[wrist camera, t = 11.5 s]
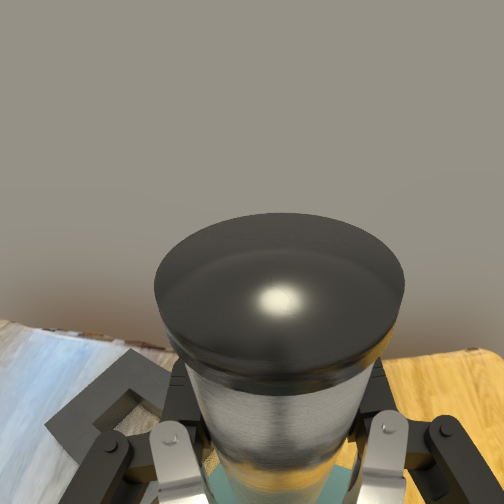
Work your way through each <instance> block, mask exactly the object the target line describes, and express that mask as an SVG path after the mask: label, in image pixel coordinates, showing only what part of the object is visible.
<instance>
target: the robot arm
mask: <svg viewBox="0 0 504 504" xmlns="http://www.w3.org/2000/svg"><path fill="white" fill-rule="evenodd" d="M347 439H348V443H350V442H356V444H357V451H356V454H355V458H354V463H353V467H352V471H351V475H350V478H349V482H348V486H347V490H346V493H345V496H344V498H343V500H342V503H341V504H403V502H404V496H405V491H406V479H405V478H404V477H403V470H404V469H407V470H408V472H409V473H410V475H411V477H412V479H413V481H414V483H415V485H416V486H417V488H418V490H419V492H420V494H421V496H422V498H423V499H424V501H425V503H426V504H504V490H503V489H502V487H501V485H500V484H499V482H498V481H497V479H496V477H495V476H494V474H493V472H492V471H491V469H490V468H489V466H488V465H487V463H486V461H485V460H484V458H483V457H482V455H481V454H480V452H479V451H478V449H477V447H476V446H475V444H474V443H473V441H472V440H471V438H470V437H469V435H468V434H467V432H466V431H465V429H464V428H463V427H462V425H461V424H460V422H459V421H458V420H457V419H456V418H454V417H453V416H450V415H441V416H438V417H436V418H435V419H434V420H433V421H432V422H423V421H413V420H409V419H407V418H405V416H404V415H403V414H401V413H400V412H399V411H398V410H397V408H396V405H395V402H394V398H393V395H392V392H391V389H390V386H389V383H388V380H387V377H386V374H385V371H384V369H383V365H382V362H381V359H380V357H378V358H377V359H376V361H375V362H374V365H373V368H372V371H371V374H370V377H369V380H368V383H367V386H366V389H365V391H364V394H363V397H362V400H361V402H360V405H359V408H358V410H357V413H356V415H355V418H354V420H353V423H352V425H351V428H350V430H349V433H348V435H347ZM211 444H212V439H211V437H210V434H209V432H208V429H207V426H206V424H205V421H204V418H203V415H202V413H201V410H200V407H199V404H198V401H197V398H196V395H195V393H194V390H193V387H192V384H191V381H190V378H189V375H188V371H187V368H186V365H185V362H184V361H183V360H182V359H181V358H180V357H179V358H178V360H177V361H176V362H175V364H174V365H173V369H172V373H171V378H170V382H169V387H168V390H167V395H166V399H165V404H164V408H163V413H162V417H161V420H160V422H159V424H157V425H156V426H155V427H154V428H153V429H152V430H151V431H150V432H147V433H144V434H139V435H133V436H127V437H125V435H124V434H122V433H121V432H119V431H115V430H109V431H105V432H103V433H101V434H100V435H99V436H98V437H97V438H96V439H95V441H94V443H93V444H92V446H91V448H90V449H89V451H88V453H87V455H86V456H85V458H84V460H83V461H82V463H81V465H80V467H79V468H78V470H77V472H76V473H75V475H74V477H73V479H72V480H71V482H70V484H69V486H68V487H67V489H66V491H65V493H64V494H63V496H62V498H61V500H60V502H59V503H58V504H140V502H141V500H142V498H143V496H144V494H145V492H146V490H147V488H148V486H149V483H150V482H151V481H157V480H158V482H159V488H160V489H159V491H158V500H159V504H217V502H216V499H215V496H214V494H213V491H212V488H211V485H210V482H209V479H208V476H207V473H206V470H205V467H204V464H203V461H202V459H203V450H204V449H211Z"/></svg>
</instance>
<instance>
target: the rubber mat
mask: <svg viewBox="0 0 504 504" xmlns="http://www.w3.org/2000/svg"><path fill="white" fill-rule="evenodd" d="M351 471H352V470H350V469H347V468H344V467H341V466H338V465H334V467H333V469H332V471H331V473H330V475H329V477H328V479H327V481H326V483H325V485H324V487H323V489H322V491H321V493H320V495H319V497H318V499H317V501H316V502H315V504H341V503H342V500H343V498H344V496H345V493H346V490H347V486H348V482H349V478H350V475H351ZM208 479H209V482H210V485H211V488H212V491H213V494H214V496H215V499H216V502H217V504H239V503H238V501H237V500H236V497H235V495H234V493H233V491H232V488H231V486H230V484H229V481H228V479H227V477H226V474H225V472H224V469H223V467H222V465H221V462H220V464H219V465H218V466H217V467H216V469H215V470H214V471H213V472H212V474H211V475H210V476H209V477H208Z"/></svg>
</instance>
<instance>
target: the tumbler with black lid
mask: <svg viewBox="0 0 504 504" xmlns="http://www.w3.org/2000/svg"><path fill="white" fill-rule="evenodd" d="M404 286H405V280H404V274H403V270H402V268H401V265H400V263H399V261H398V260H397V258H396V256H395V255H394V254H393V252H392V251H391V250H390V249H389V248H388V247H387V246H386V245H385V244H384V243H383V242H381V241H380V240H379V239H377V238H376V237H374V236H373V235H371V234H370V233H368V232H366V231H364V230H362V229H360V228H358V227H355V226H353V225H350V224H348V223H345V222H342V221H339V220H335V219H331V218H327V217H322V216H316V215H309V214H298V213H267V214H257V215H250V216H243V217H238V218H234V219H230V220H226V221H222V222H219V223H217V224H214V225H211V226H208V227H206V228H204V229H201V230H199V231H197V232H196V233H194V234H192V235H190V236H189V237H187V238H186V239H184V240H182V241H181V242H180V243H178V244H177V245H176V246H175V247H174V248H173V249H172V250H171V251H170V252H169V253H168V254H167V255H166V256H165V258H164V259H163V260H162V262H161V264H160V266H159V267H158V270H157V272H156V276H155V280H154V292H155V297H156V301H157V304H158V308H159V312H160V315H161V318H162V322H163V325H164V328H165V331H166V334H167V337H168V339H169V342H170V344H171V346H172V348H173V349H174V350H175V352H176V353H177V355H178V356H179V357H180V358H181V359H182V360H183V361H184V362H185V365H186V368H187V371H188V375H189V378H190V381H191V384H192V387H193V390H194V393H195V395H196V398H197V401H198V404H199V407H200V410H201V413H202V415H203V418H204V421H205V424H206V426H207V429H208V432H209V434H210V437H211V439H212V442H213V445H214V447H215V450H216V452H217V455H218V457H219V460H220V462H221V465H222V467H223V469H224V472H225V474H226V477H227V479H228V481H229V484H230V486H231V488H232V491H233V493H234V495H235V497H236V500H237V501H238V503H239V504H315V502H316V501H317V499H318V497H319V495H320V493H321V491H322V489H323V487H324V485H325V483H326V481H327V479H328V477H329V475H330V473H331V471H332V469H333V467H334V465H335V462H336V460H337V458H338V456H339V454H340V451H341V449H342V447H343V445H344V442H345V440H346V438H347V435H348V433H349V430H350V428H351V425H352V423H353V420H354V418H355V415H356V413H357V410H358V408H359V405H360V402H361V400H362V397H363V394H364V391H365V389H366V386H367V383H368V380H369V377H370V374H371V371H372V368H373V365H374V362H375V361H376V359H377V358H378V357H379V356H380V355H381V353H382V352H383V351H384V350H385V348H386V346H387V344H388V342H389V340H390V339H391V336H392V332H393V329H394V326H395V323H396V319H397V316H398V312H399V309H400V305H401V301H402V298H403V294H404Z"/></svg>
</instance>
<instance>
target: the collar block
mask: <svg viewBox="0 0 504 504" xmlns="http://www.w3.org/2000/svg"><path fill="white" fill-rule="evenodd" d="M170 378H171V372H169V371H167V370H166V369H164V368H162V367H160V366H159V365H157V364H155V363H154V362H152V361H150V360H149V359H147V358H146V357H144V356H142V355H141V354H139V353H137V352H136V351H134V350H133V349H131V348H130V349H129V350H128V351H127V352H126V353H125V354H123V355H122V356H121V357H120V358H119V359H118V360H117V361H115V362H114V363H113V364H112V365H111V366H110V367H109V368H108V369H106V370H105V371H104V372H103V373H102V374H101V375H100V376H98V377H97V378H96V379H95V380H94V381H93V382H92V383H91V384H89V385H88V386H87V387H86V388H85V389H84V390H83V391H81V392H80V393H79V394H78V395H77V396H76V397H75V398H74V399H72V400H71V401H70V402H69V403H68V404H67V405H66V406H65V407H63V408H62V409H61V410H60V411H59V412H58V413H57V414H56V415H54V416H53V417H52V418H51V419H50V420H49V421H48V422H47V423H45V424H44V425H45V426H46V428H47V429H48V430H49V431H50V433H51V434H52V435H53V436H54V437H55V438H56V440H57V441H58V442H59V443H60V444H61V445H62V446H63V448H64V449H65V450H66V451H67V452H68V453H69V454H70V455H71V456H72V457H73V459H74V460H75V461H76V462H77V463H78V464H79V465H81V463H82V461H83V460H84V458H85V456H86V455H87V453H88V451H89V449H90V448H91V446H92V444H93V443H94V441H95V439H96V438H97V437H98V436H99V435H100V434H101V433H103V432H105V431H109V430H112V429H113V428H114V427H115V426H116V425H117V424H118V423H119V422H120V421H122V420H123V419H124V418H125V417H126V416H127V415H128V414H129V413H130V412H131V411H132V410H133V409H134V408H135V407H136V406H137V405H138V404H140V405H141V406H143V407H144V408H146V409H147V410H148V411H150V412H151V413H153V414H154V415H156V416H157V417H159V418H160V419H161V417H162V413H163V408H164V404H165V399H166V395H167V390H168V387H169V382H170ZM214 448H215V447H214V445H213V442H212V444H211V449H204V450H203V459H202V461H203V462H204V461H205V459H206V458H207V457H208V456H209V454H210V453H211V452H212V451H213V449H214ZM159 489H160V488H159V482H158V480H157V481H151V482H150V483H149V486H148V488H147V490H146V492H145V494H144V496H143V498H142V500H141V502H140V504H159V500H158V491H159Z"/></svg>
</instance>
